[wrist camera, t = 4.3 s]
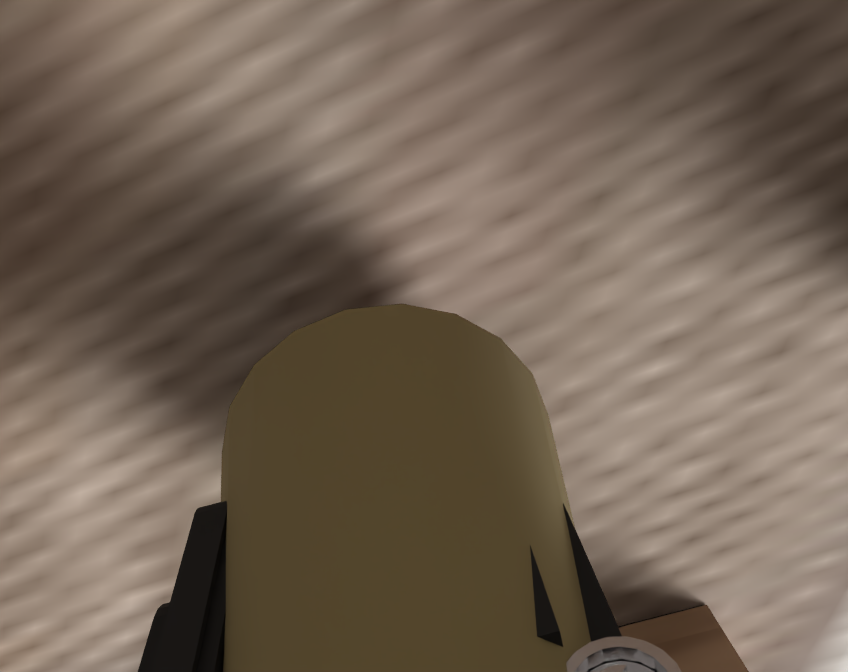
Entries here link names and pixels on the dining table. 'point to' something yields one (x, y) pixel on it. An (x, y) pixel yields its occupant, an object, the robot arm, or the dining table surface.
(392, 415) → the cork
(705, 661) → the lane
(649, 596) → the dining table surface
